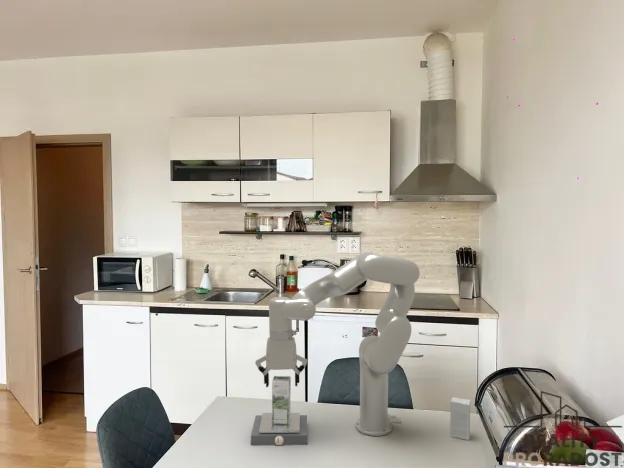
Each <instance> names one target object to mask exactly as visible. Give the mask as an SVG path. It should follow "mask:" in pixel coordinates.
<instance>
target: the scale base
mask: <svg viewBox="0 0 624 468" xmlns="http://www.w3.org/2000/svg"><path fill="white" fill-rule="evenodd" d="M261 418H262V414H260V415H259V414H258V415H257V414H256V415H255V417H254V420H253V421H254V422H253V426H252V430H251V433H250V434H251V435H250V445H251V446H265V445H266V446H267V445H268V446H270V445H271V446H272V445H274V446H283V445H284V446H286V445H289V446H291V445H295V446H297V445H300V446H301V445H305V446H306V445H308V415H306V414H302V415H301V414H300V433H259V428H260V423H261Z"/></svg>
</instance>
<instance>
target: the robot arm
mask: <svg viewBox="0 0 624 468" xmlns="http://www.w3.org/2000/svg"><path fill="white" fill-rule="evenodd" d="M420 272H421V271H420V268H419V267H418V265H417V264H416V263H415V262H414V261H412V260H410V259H406V258H403V257H399V256H394V257H389V256H385V255H379V254H376V253H373V252H371V251H366V252H362V253H359V254H358V255H356V256H355V257H353V258H351V260H349V261H347V262H346V263H345V264H343V265H342V266H340V267H338V268H337V269H335V270H334V271H332V272H330V273H329V274H326V275H325V276H323V277H321V278H319V279H317V280H314V281H313V282H311V283H309V284H308V285H307V286H305V287H304V288H302V289H301V290H299V291H297V292H296V293H295V294H294V295H293V296H292V297H291V299H290V298H289V297H287V296H275V297H272V298H270V299H269V301H268V320H269V321H268V322H269V323H268V325H269V326H268V327H269V337H267V340H266V348H265V349H266V351H265V355H264V356H262V357H259V359H256V360H255V362H254V363H255V366H256V368H257V369H258V371H259V372H261V374H262V375H263V384H264V385H265V388H268V387H269V385H270V373H269V372H270V371H272V370H273V371H277V370H278V371H279V370H284V371H285V370H293V372H294V386H295V387H298V384H299V383H300V374H301V372H302V371H304V370H305V368H306V366H307V364H308V359H307V358H305V357H304V356H301V355H299V354H297V343H296V340H295V339H296V338H295V337H294V336H296V335H297V330H294V329H293V321H309V320H311V319H313V317H314V316H315V315H316V311H317V308H316V306H317V305H319V304H320V303H322V302H323V301H325V300H327V299H330V298H334V297H341V296H344V295H347V294H348V293H350V292H351V291H353V290H354V289H355V288H356V287H358V286H361V285H362V284H363V283H364V282H365V281H367V280H369V281H374V282H379V283H384V284H389V285H390V287H389V292H388V295H387V297H386V299H385V301H384V303H383V305H382V307H381V308H380V310H379V312H378V314H377V316H376V319H375V322H374V324H375V328H376V330H377V331H378V333H380V334H379V335H378V336H377V335H374V334H373V335H367V336H366V337H364V338H363V339H362V340H361V342H360V344H359V347H358V357H359V372H360V373H359V375H360V377H359V379H360V380H359V418H358V419H356V420H355V423H354V424H355V425H354V426H355V428H356V430H357V431H358V432H360V433H361V434H364V435H366V436H371V437H372V436H375V437H381V436H385V435H388V434H390V432H391V431H392V430H393V424H396V425H400V424H402V423H403V422H402V421H403V420H402V418H401V417H397V415H396V414H392V415H391V414H389V412H388V411H389V410H388V407H389V402H388V401H389V398H388V397H389V373H390V372H392V371H393V370H394V369H395V367H396V366H397V365H398V363H399V361H400V359H401V357H402V354H403V353H404V352H405V349H406V347H407V346H408V344H409V341H410V339H411V335H412V323H411V322H410V319H408V318H407V316H408V313H409V311H410V309H411V306H412V304H413V301H414V298H415V294H416V293H415V292H416V288H415V283H416V282H418V280H419V279H420ZM298 361H299V362H301V365H300V366H298V365H297V363H298ZM264 362H265V367H264V366H263V365H262V363H264Z"/></svg>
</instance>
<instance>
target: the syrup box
mask: <svg viewBox="0 0 624 468" xmlns="http://www.w3.org/2000/svg"><path fill="white" fill-rule="evenodd" d="M291 378H292V377H291V376H290V375H289V376H288V375H274V376H273V378H272V382H271V390H272V391H271V400H272V401H271V413H272V424H289V421H290V417H291V413H292V412H291V394H292V393H291V391H292V390H291V385H292V384H291V382H292V379H291Z"/></svg>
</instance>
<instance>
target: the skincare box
mask: <svg viewBox="0 0 624 468" xmlns="http://www.w3.org/2000/svg"><path fill="white" fill-rule="evenodd" d="M449 424H450V425H449V426H450V432H449V433H450V434H449V436H450V437H451V438H456V439H462V440H466V441H469V440H470V437H471V399H466V398H460V397H456V396H455V397H453V396H451V399H450V423H449Z"/></svg>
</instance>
